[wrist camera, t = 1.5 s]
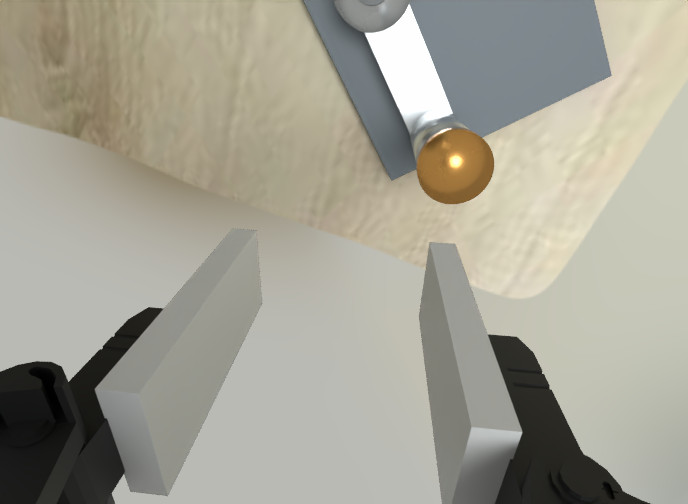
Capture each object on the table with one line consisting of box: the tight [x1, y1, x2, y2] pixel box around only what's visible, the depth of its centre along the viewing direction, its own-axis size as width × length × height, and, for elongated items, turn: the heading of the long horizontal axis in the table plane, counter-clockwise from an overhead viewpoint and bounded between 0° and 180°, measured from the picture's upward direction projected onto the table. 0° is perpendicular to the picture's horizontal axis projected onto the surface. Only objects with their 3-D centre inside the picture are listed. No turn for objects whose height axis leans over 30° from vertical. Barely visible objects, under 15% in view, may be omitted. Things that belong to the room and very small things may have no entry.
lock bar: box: [334, 0, 494, 204], centre depth 21 cm, size 13×4×10 cm, turn 28°
